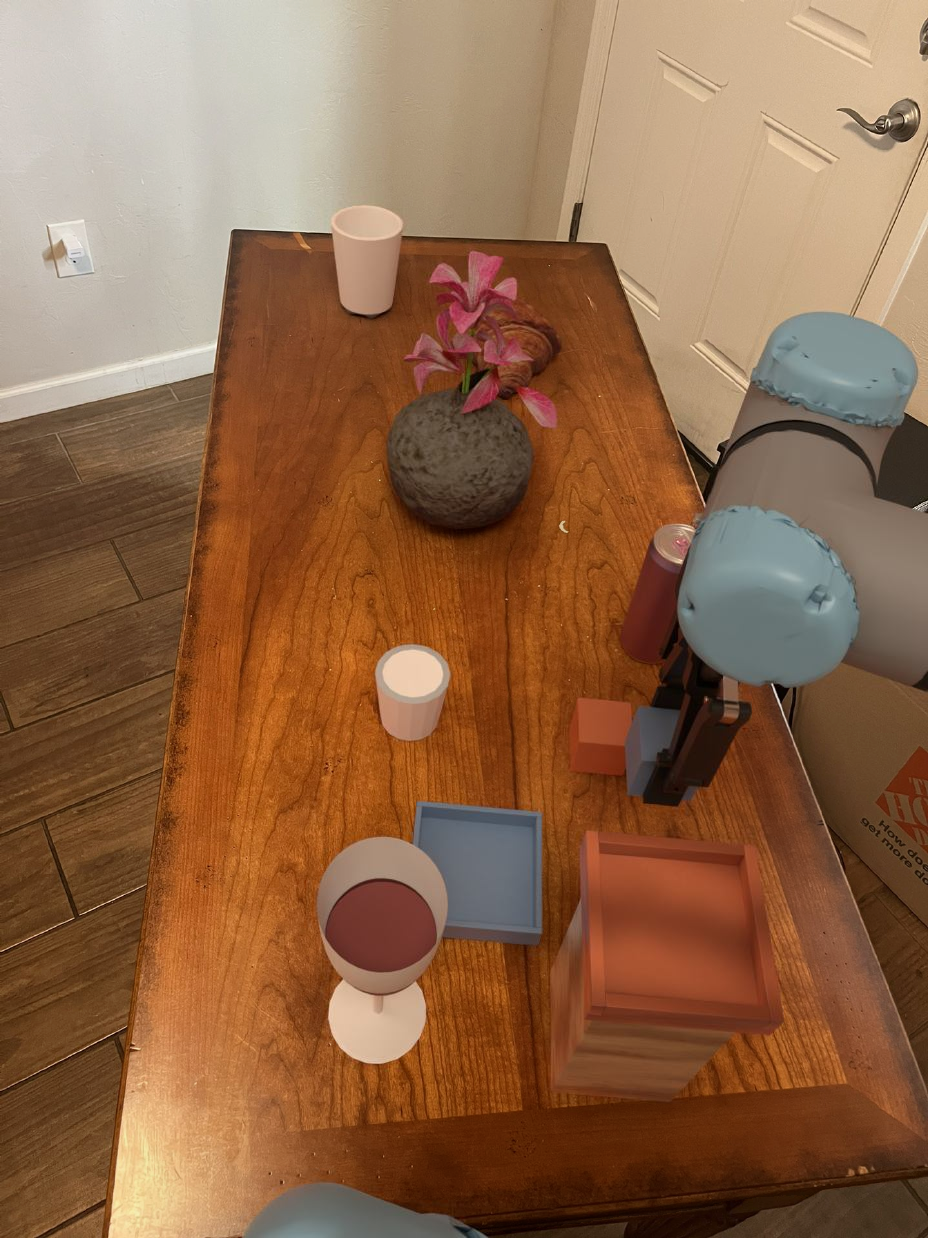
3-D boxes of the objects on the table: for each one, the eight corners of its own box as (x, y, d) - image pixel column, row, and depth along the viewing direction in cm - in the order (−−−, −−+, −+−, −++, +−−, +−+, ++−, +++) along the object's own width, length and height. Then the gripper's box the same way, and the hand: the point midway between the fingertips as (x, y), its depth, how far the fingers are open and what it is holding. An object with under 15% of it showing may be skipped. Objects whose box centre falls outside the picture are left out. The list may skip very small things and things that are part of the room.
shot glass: (429, 756, 88) (433, 713, 83) (362, 731, 89) (362, 687, 84) (455, 702, 92) (461, 657, 87) (391, 679, 94) (393, 633, 88)
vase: (369, 469, 114) (372, 230, 91) (504, 449, 119) (538, 218, 96) (407, 566, 104) (420, 325, 81) (553, 541, 108) (604, 306, 86)
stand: (685, 1118, 69) (784, 1021, 53) (537, 1106, 69) (592, 1005, 53) (671, 970, 77) (755, 845, 60) (537, 958, 76) (586, 829, 60)
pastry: (428, 340, 133) (431, 288, 127) (513, 312, 140) (519, 262, 134) (501, 403, 125) (508, 351, 119) (587, 370, 132) (598, 319, 126)
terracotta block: (622, 776, 88) (634, 747, 85) (569, 771, 88) (579, 742, 84) (619, 732, 92) (630, 702, 88) (568, 727, 92) (577, 697, 88)
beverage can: (636, 673, 97) (673, 572, 85) (608, 631, 100) (639, 529, 89) (685, 658, 99) (727, 557, 87) (655, 617, 102) (692, 515, 91)
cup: (414, 309, 138) (418, 225, 129) (364, 332, 133) (365, 246, 124) (368, 280, 142) (369, 197, 133) (318, 302, 137) (315, 217, 128)
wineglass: (329, 1079, 69) (321, 981, 54) (322, 962, 75) (313, 843, 60) (436, 1064, 70) (457, 963, 55) (421, 950, 76) (437, 830, 61)
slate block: (691, 801, 73) (709, 767, 69) (627, 795, 73) (642, 760, 69) (685, 748, 76) (702, 712, 73) (624, 741, 76) (638, 705, 73)
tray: (537, 946, 77) (542, 933, 75) (403, 934, 77) (405, 921, 75) (538, 825, 84) (542, 811, 82) (415, 814, 84) (417, 800, 82)
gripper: (676, 462, 63) (606, 675, 80) (704, 673, 51) (615, 869, 68) (787, 474, 63) (693, 684, 81) (840, 687, 51) (717, 880, 69)
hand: (657, 769), depth 74 cm, fingers closed on slate block, 5 cm apart
